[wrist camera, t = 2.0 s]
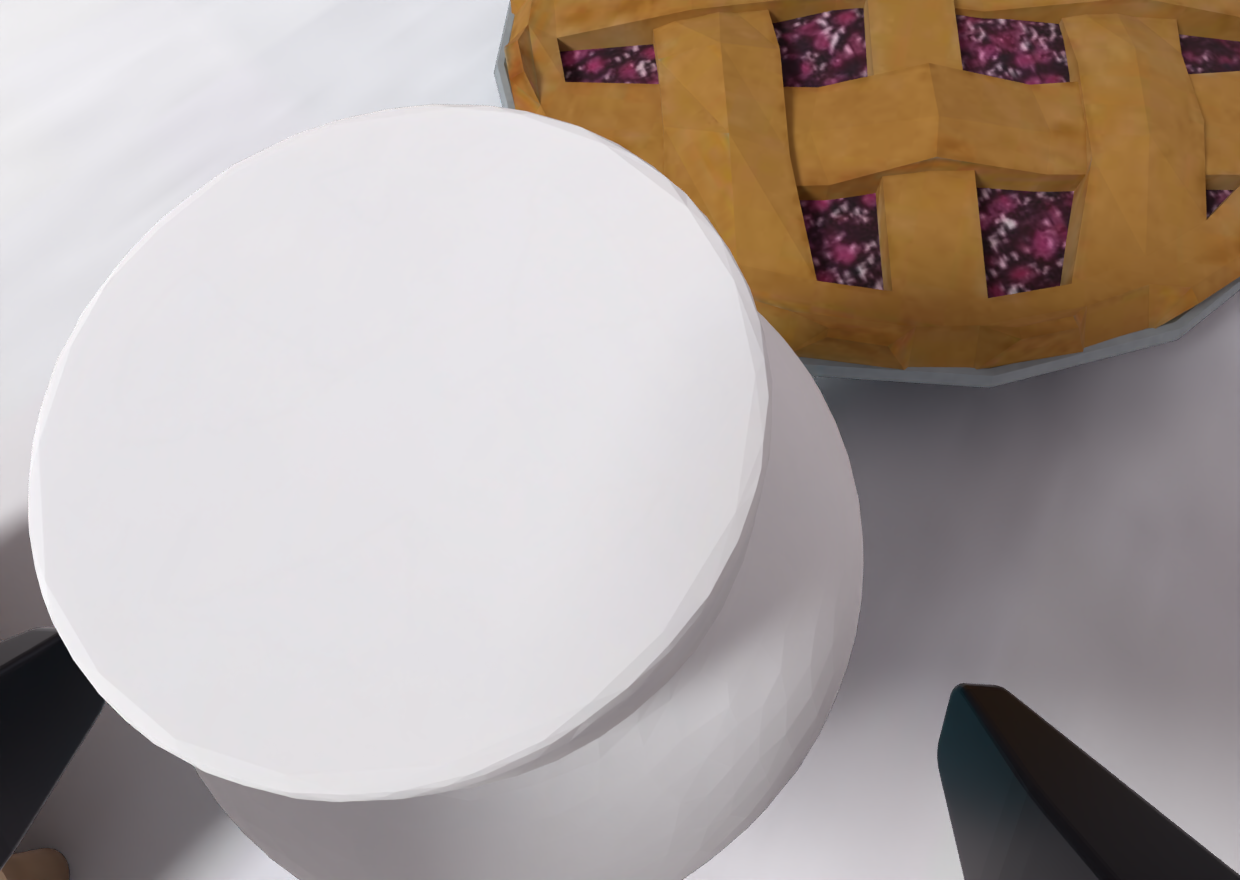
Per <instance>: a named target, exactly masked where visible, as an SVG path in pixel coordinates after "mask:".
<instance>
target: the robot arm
mask: <svg viewBox="0 0 1240 880" xmlns="http://www.w3.org/2000/svg"><path fill="white" fill-rule="evenodd" d="M104 704H105V699H104V698H103V697H102V696H101V695H100V694H99V693H98V692H97V691H96V689H95V688H94V687H93V685H92V684H91V683H90V681H89V680H88V679H87V677H86V676H85V675H84V673H83V672H82V671H81V669H80V668H79V667H78V665H77V664H76V663H75V661H74V660H73V658H72V657H71V655H70V653H69V651H68V649H67V648H66V646H65V644H64V642H63V640H62V639H61V637H60V635H59V633H58V632H57V630H56V628H55V627H39V628H34V629H31V630H28V631H26V632H23V633H21V634H19V635H16V636H14V637H11V638H9V639H6V640H4V641H2V642H0V871H1V869H2V868H3V866H4V865H5V864H6V862H7V861H8V859H9V858H10V857H11V855H12V854H13V852H14V851H15V849H16V848H17V846H18V845H19V843H20V841H21V840H22V838H23V837H24V835H25V834H26V832H27V831H28V829H29V828H30V826H31V824H32V823H33V821H34V819H35V818H36V816H37V815H38V813H39V811H40V810H41V808H42V807H43V805H44V803H45V802H46V800H47V799H48V797H49V795H50V794H51V792H52V790H53V789H54V787H55V786H56V784H57V782H58V781H59V779H60V778H61V776H62V774H63V773H64V771H65V770H66V768H67V766H68V765H69V763H70V761H71V760H72V758H73V757H74V755H75V753H76V752H77V750H78V749H79V747H80V745H81V744H82V742H83V741H84V739H85V737H86V736H87V734H88V732H89V731H90V729H91V728H92V726H93V724H94V723H95V721H96V720H97V718H98V716H99V715H100V713H101V711H102V709H103V707H104ZM937 760H938V768H939V773H940V777H941V782H942V786H943V790H944V794H945V799H946V803H947V807H948V811H949V816H950V820H951V824H952V828H953V833H954V837H955V841H956V845H957V850H958V854H959V858H960V862H961V867H962V871H963V875H964V880H1240V875H1239V874H1238V873H1236V872H1235V871H1234V870H1233V869H1231V868H1230V867H1229V866H1228V865H1226V864H1225V863H1224V862H1223V861H1221V860H1220V859H1219V858H1217V857H1216V856H1215V855H1214V854H1212V853H1211V852H1210V851H1209V850H1207V849H1206V848H1205V847H1204V846H1202V845H1201V844H1200V843H1199V842H1197V841H1196V840H1195V839H1194V838H1192V837H1191V836H1190V835H1189V834H1187V833H1186V832H1185V831H1184V830H1182V829H1181V828H1180V827H1179V826H1177V825H1176V824H1175V823H1174V822H1172V821H1171V820H1170V819H1168V818H1167V817H1166V816H1165V815H1163V814H1162V813H1161V812H1160V811H1158V810H1157V809H1156V808H1155V807H1153V806H1152V805H1151V804H1150V803H1148V802H1147V801H1146V800H1145V799H1143V798H1142V797H1141V796H1140V795H1138V794H1137V793H1136V792H1135V791H1133V790H1132V789H1131V788H1130V787H1128V786H1127V785H1126V784H1125V783H1123V782H1122V781H1121V780H1119V779H1118V778H1117V777H1116V776H1114V775H1113V774H1112V773H1111V772H1109V771H1108V770H1107V769H1106V768H1104V767H1103V766H1102V765H1101V764H1099V763H1098V762H1097V761H1096V760H1094V759H1093V758H1092V757H1091V756H1089V755H1088V754H1087V753H1086V752H1084V751H1083V750H1082V749H1081V748H1079V747H1078V746H1077V745H1076V744H1074V743H1073V742H1072V741H1070V740H1069V739H1068V738H1067V737H1065V736H1064V735H1063V734H1062V733H1060V732H1059V731H1058V730H1057V729H1055V728H1054V727H1053V726H1052V725H1050V724H1049V723H1048V722H1047V721H1045V720H1044V719H1043V718H1042V717H1040V716H1039V715H1038V714H1037V713H1035V712H1034V711H1033V710H1032V709H1030V708H1029V707H1028V706H1027V705H1025V704H1024V703H1023V702H1021V701H1020V700H1019V699H1018V698H1016V697H1015V696H1014V695H1013V694H1011V693H1010V692H1009V691H1007V690H1006V689H1004V688H1002V687H1000V686H996V685H985V684H969V683H962V684H959V685H957V686H955V688H954V689H953V690H952V693H951V695H950V699H949V703H948V707H947V711H946V715H945V719H944V722H943V726H942V730H941V734H940V738H939V742H938V750H937Z"/></svg>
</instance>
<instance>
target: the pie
mask: <svg viewBox="0 0 1240 880" xmlns="http://www.w3.org/2000/svg"><path fill="white" fill-rule="evenodd" d="M494 75H495V79H496V83H497V87H498V91H499V95H500V99H501V103H502V107H503V108H509V109H515V110H522V111H528V112H531V113H535V114H539V115H542V116H546V117H549V118H553V119H556V120H560V121H563V122H567V123H571V124H574V125H576V126H579V127H582V128H584V129H586V130H589V131H591V132H593V133H595V134H597V135H600V136H602V137H604V138H606V139H608V140H611V141H613V142H615V143H617V144H619V145H620V146H622V147H624V148H625V149H627V150H628V151H630V152H631V153H633V154H635V155H636V156H638V157H639V158H641V159H642V160H644V161H646V162H647V163H649V164H650V165H652V166H653V167H655V168H656V169H657V170H658V171H659V172H661V173H662V174H663V175H664V176H665V177H667V178H668V179H669V180H670V181H671V182H673V183H674V184H675V185H676V186H677V187H679V188H680V189H681V190H682V191H683V192H685V193H686V194H687V195H688V196H689V198H690V199H691V200H692V201H693V202H694V204H695V205H696V206H697V207H698V208H699V210H700V211H701V212H702V213H703V214H704V215H705V216H706V217H707V218H708V219H709V221H710V222H711V224H712V225H713V227H714V228H715V229H716V231H717V232H718V234H719V235H720V237H721V238H722V239H723V241H724V242H725V244H726V245H727V246H728V248H729V249H730V251H731V253H732V255H733V257H734V259H735V261H736V263H737V264H738V266H739V268H740V270H741V272H742V274H743V276H744V278H745V280H746V282H747V284H748V286H749V288H750V290H751V293H752V296H753V299H754V302H755V306H756V309H757V311H758V312H759V313H760V314H761V315H762V316H763V317H764V318H765V319H766V320H767V321H768V322H769V323H770V324H771V325H772V327H773V328H774V329H775V330H776V331H777V332H778V333H779V334H780V335H781V336H782V337H783V338H784V340H785V341H786V342H787V343H788V345H789V346H790V347H791V349H792V350H793V351H794V352H795V354H796V355H797V356H798V358H799V359H800V361H801V362H802V363H803V365H804V366H805V367H806V369H807V370H808V372H809V373H810V374H811V376H818V377H833V378H849V379H864V380H879V381H895V382H910V383H925V384H940V385H956V386H971V387H986V388H991V387H995V386H999V385H1003V384H1007V383H1011V382H1015V381H1018V380H1022V379H1026V378H1030V377H1034V376H1038V375H1042V374H1046V373H1050V372H1054V371H1058V370H1062V369H1066V368H1069V367H1073V366H1077V365H1081V364H1085V363H1089V362H1093V361H1097V360H1101V359H1105V358H1109V357H1113V356H1117V355H1120V354H1124V353H1128V352H1132V351H1136V350H1140V349H1144V348H1148V347H1152V346H1156V345H1160V344H1164V343H1168V342H1171V341H1175V340H1178V339H1179V338H1181V337H1182V336H1183V335H1184V334H1186V333H1187V332H1188V331H1189V330H1191V329H1192V328H1193V327H1194V326H1195V325H1197V324H1198V323H1199V322H1200V321H1202V320H1203V319H1204V318H1205V317H1207V316H1208V315H1209V314H1210V313H1212V312H1213V311H1214V310H1215V309H1217V308H1218V307H1219V306H1220V305H1222V304H1223V303H1224V302H1225V301H1227V300H1228V299H1229V298H1230V297H1232V296H1233V295H1234V294H1235V293H1237V292H1238V291H1239V290H1240V0H510V2H509V7H508V11H507V16H506V20H505V25H504V29H503V34H502V38H501V43H500V47H499V52H498V56H497V61H496V65H495V70H494Z"/></svg>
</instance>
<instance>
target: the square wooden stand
mask: <svg viewBox="0 0 1240 880" xmlns="http://www.w3.org/2000/svg"><path fill="white" fill-rule="evenodd" d="M0 880H69V867H68V864H67V861H66V859H65V857H64V856H63V855H62V854H61V853H60V852H58V851H57V850H55V849H51V848H41V849H37V850H32V851H27V852H22V853H17V854H12V855H11V857H10V858H9V859H8V861H7V862H6V864H5V865H4V866H3V868H2V869H1V871H0Z"/></svg>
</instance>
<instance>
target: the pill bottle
mask: <svg viewBox="0 0 1240 880" xmlns="http://www.w3.org/2000/svg"><path fill="white" fill-rule="evenodd" d="M28 521H29V536H30V542H31V547H32V553H33V559H34V565H35V570H36V574H37V578H38V581H39V585H40V589H41V593H42V596H43V599H44V601H45V604H46V607H47V609H48V612H49V615H50V617H51V620H52V622H53V624H54V626H55V628H56V630H57V632H58V633H59V635H60V637H61V639H62V640H63V642H64V644H65V646H66V648H67V649H68V651H69V653H70V655H71V657H72V658H73V660H74V661H75V663H76V664H77V665H78V667H79V668H80V669H81V671H82V672H83V673H84V675H85V676H86V677H87V679H88V680H89V681H90V683H91V684H92V685H93V687H94V688H95V689H96V691H97V692H98V693H99V694H100V695H101V696H102V697H103V698H104V699H105V700H106V701H107V702H108V703H109V704H110V705H111V706H112V707H113V708H114V709H115V710H116V712H117V713H118V714H119V715H120V716H121V717H122V718H123V719H124V720H125V721H127V722H128V723H129V724H130V725H132V726H133V727H134V728H135V729H136V730H138V731H139V732H140V733H141V734H143V735H144V736H145V737H146V738H147V739H149V740H150V741H151V742H152V743H154V744H155V745H157V746H159V747H161V748H162V749H164V750H166V751H168V752H170V753H171V754H173V755H175V756H177V757H179V758H180V759H182V760H184V761H186V762H188V763H189V764H191V765H193V766H194V768H195V770H196V772H197V774H198V775H199V776H200V778H201V779H202V781H203V782H204V784H205V785H206V787H207V788H208V789H209V791H210V792H211V794H212V795H213V797H214V798H215V799H216V801H217V802H218V804H219V805H220V807H221V808H222V809H223V810H224V811H225V812H226V813H227V815H228V816H229V817H230V818H231V819H232V820H233V821H234V823H235V824H236V825H237V826H238V827H239V828H240V829H241V831H242V832H243V833H244V834H245V835H246V836H247V837H248V838H249V839H250V840H252V841H253V842H254V843H255V844H256V845H257V846H258V847H259V848H260V849H261V850H262V851H264V852H265V853H266V854H267V855H268V857H269V858H271V859H272V860H273V861H275V862H276V863H277V864H279V865H280V866H281V867H283V868H284V869H286V870H287V871H288V872H290V873H291V874H292V875H294V876H295V877H296V878H298V879H299V880H683V879H684V878H686V877H687V876H688V875H690V874H691V873H693V872H694V871H696V870H697V869H698V868H700V867H701V866H703V865H704V864H705V863H707V862H708V861H710V860H711V859H712V858H713V857H714V856H716V855H717V854H718V853H719V852H721V851H722V850H723V849H724V848H725V847H727V846H728V845H729V844H730V843H731V842H732V841H733V840H735V839H736V838H737V837H738V836H739V835H740V834H741V833H742V832H744V831H745V830H746V829H747V828H748V827H749V826H750V825H751V824H752V823H753V822H754V821H755V820H756V819H757V818H758V817H759V816H760V815H761V814H762V812H763V811H764V810H765V809H766V808H767V807H768V806H769V805H770V803H771V802H772V801H773V800H774V799H775V797H776V796H777V795H778V794H779V792H780V791H781V790H782V789H783V787H784V786H785V785H786V784H787V783H788V781H789V780H790V779H791V778H792V776H793V775H794V774H795V773H796V771H797V770H798V769H799V767H800V765H801V764H802V762H803V760H804V759H805V757H806V755H807V754H808V752H809V751H810V749H811V747H812V746H813V744H814V742H815V741H816V739H817V738H818V736H819V734H820V732H821V730H822V728H823V725H824V723H825V721H826V719H827V717H828V715H829V712H830V710H831V708H832V706H833V704H834V701H835V699H836V696H837V693H838V691H839V688H840V685H841V682H842V680H843V677H844V674H845V671H846V669H847V666H848V663H849V659H850V656H851V652H852V648H853V645H854V641H855V637H856V632H857V626H858V620H859V613H860V607H861V601H862V586H863V567H864V560H863V533H862V524H861V514H860V505H859V498H858V494H857V489H856V485H855V481H854V477H853V473H852V469H851V465H850V460H849V456H848V454H847V451H846V448H845V446H844V443H843V440H842V438H841V435H840V432H839V430H838V427H837V424H836V422H835V420H834V418H833V416H832V414H831V412H830V410H829V408H828V405H827V403H826V401H825V399H824V397H823V395H822V393H821V392H820V390H819V388H818V386H817V385H816V383H815V381H814V379H813V378H812V376H811V374H810V373H809V372H808V370H807V369H806V367H805V366H804V365H803V363H802V362H801V361H800V359H799V358H798V356H797V355H796V354H795V352H794V351H793V350H792V349H791V347H790V346H789V345H788V343H787V342H786V341H785V340H784V338H783V337H782V336H781V335H780V334H779V333H778V332H777V331H776V330H775V329H774V328H773V327H772V325H771V324H770V323H769V322H768V321H767V320H766V319H765V318H764V317H763V316H762V315H761V314H760V313H759V312H758V311H757V309H756V306H755V302H754V299H753V296H752V293H751V290H750V288H749V286H748V284H747V282H746V280H745V278H744V276H743V274H742V272H741V270H740V268H739V266H738V264H737V263H736V261H735V259H734V257H733V255H732V253H731V251H730V249H729V248H728V246H727V245H726V244H725V242H724V241H723V239H722V238H721V237H720V235H719V234H718V232H717V231H716V229H715V228H714V227H713V225H712V224H711V222H710V221H709V219H708V218H707V217H706V216H705V215H704V214H703V213H702V212H701V211H700V210H699V208H698V207H697V206H696V205H695V204H694V202H693V201H692V200H691V199H690V198H689V196H688V195H687V194H686V193H685V192H683V191H682V190H681V189H680V188H679V187H677V186H676V185H675V184H674V183H673V182H671V181H670V180H669V179H668V178H667V177H665V176H664V175H663V174H662V173H661V172H659V171H658V170H657V169H656V168H655V167H653V166H652V165H650V164H649V163H647V162H646V161H644V160H642V159H641V158H639V157H638V156H636V155H635V154H633V153H631V152H630V151H628V150H627V149H625V148H624V147H622V146H620V145H619V144H617V143H615V142H613V141H611V140H608V139H606V138H604V137H602V136H600V135H597V134H595V133H593V132H591V131H589V130H586V129H584V128H582V127H579V126H576V125H574V124H571V123H567V122H563V121H560V120H556V119H553V118H549V117H546V116H542V115H539V114H535V113H531V112H528V111H522V110H515V109H509V108H502V107H495V106H485V105H444V104H430V105H421V106H411V107H401V108H393V109H386V110H381V111H377V112H372V113H367V114H363V115H358V116H353V117H349V118H344V119H340V120H336V121H333V122H330V123H327V124H324V125H321V126H318V127H315V128H313V129H310V130H307V131H304V132H301V133H298V134H295V135H293V136H291V137H289V138H287V139H285V140H282V141H280V142H278V143H276V144H274V145H272V146H270V147H268V148H266V149H264V150H262V151H260V152H258V153H256V154H254V155H252V156H250V157H248V158H246V159H244V160H242V161H240V162H238V163H236V164H234V165H232V166H230V167H229V168H228V169H226V170H225V171H223V172H222V173H221V174H219V175H218V176H216V177H215V178H214V179H212V180H211V181H209V182H208V183H207V184H205V185H204V186H202V187H201V188H200V189H198V190H197V191H195V192H194V193H193V194H191V195H190V196H189V197H187V198H186V199H185V200H183V201H182V202H181V203H180V204H178V205H177V206H176V207H175V208H174V209H172V210H171V211H170V212H169V213H167V214H166V215H165V216H164V217H163V218H161V219H160V220H159V221H158V222H157V223H156V224H155V225H154V226H153V227H152V228H151V229H150V230H149V231H148V232H147V233H146V234H145V235H144V236H143V237H142V238H141V239H140V240H139V241H138V242H137V243H136V244H135V245H134V246H133V247H132V248H131V249H130V250H129V252H128V253H127V254H126V255H125V257H124V258H123V259H122V260H121V262H120V263H119V264H118V265H117V267H116V268H115V269H114V270H113V272H112V273H111V274H110V275H109V277H108V278H107V279H106V280H105V282H104V283H103V284H102V286H101V287H100V288H99V290H98V291H97V293H96V294H95V295H94V297H93V298H92V300H91V301H90V302H89V304H88V305H87V307H86V308H85V310H84V311H83V312H82V314H81V315H80V317H79V320H78V322H77V324H76V326H75V328H74V329H73V331H72V333H71V335H70V337H69V339H68V340H67V342H66V344H65V346H64V348H63V350H62V351H61V353H60V355H59V357H58V359H57V361H56V364H55V367H54V370H53V373H52V376H51V379H50V382H49V385H48V388H47V391H46V394H45V396H44V399H43V402H42V405H41V409H40V413H39V418H38V422H37V426H36V430H35V434H34V438H33V444H32V454H31V463H30V473H29V491H28Z"/></svg>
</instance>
